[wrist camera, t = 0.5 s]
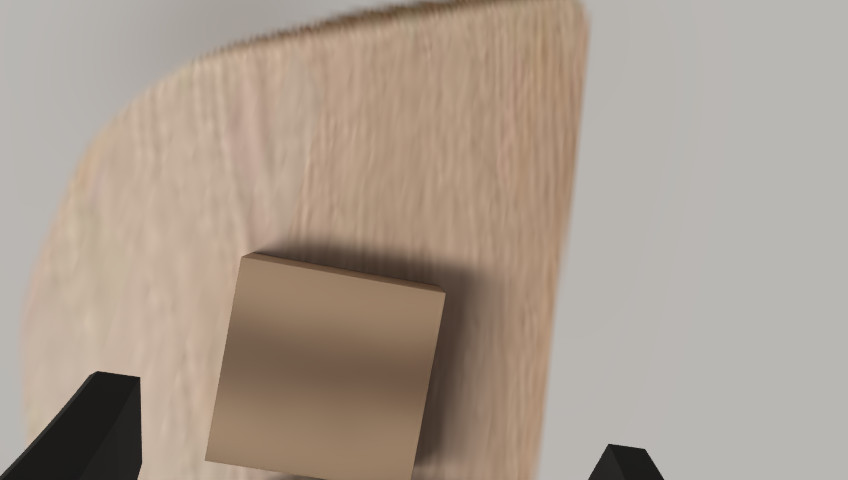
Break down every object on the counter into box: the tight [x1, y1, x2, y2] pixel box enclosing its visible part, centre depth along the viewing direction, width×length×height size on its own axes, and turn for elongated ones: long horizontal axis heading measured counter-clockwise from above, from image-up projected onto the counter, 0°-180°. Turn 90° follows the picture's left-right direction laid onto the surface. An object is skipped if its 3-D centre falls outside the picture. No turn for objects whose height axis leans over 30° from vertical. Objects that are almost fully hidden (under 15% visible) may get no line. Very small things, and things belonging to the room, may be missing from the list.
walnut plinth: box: [205, 253, 446, 480], centre depth 34 cm, size 9×9×3 cm
